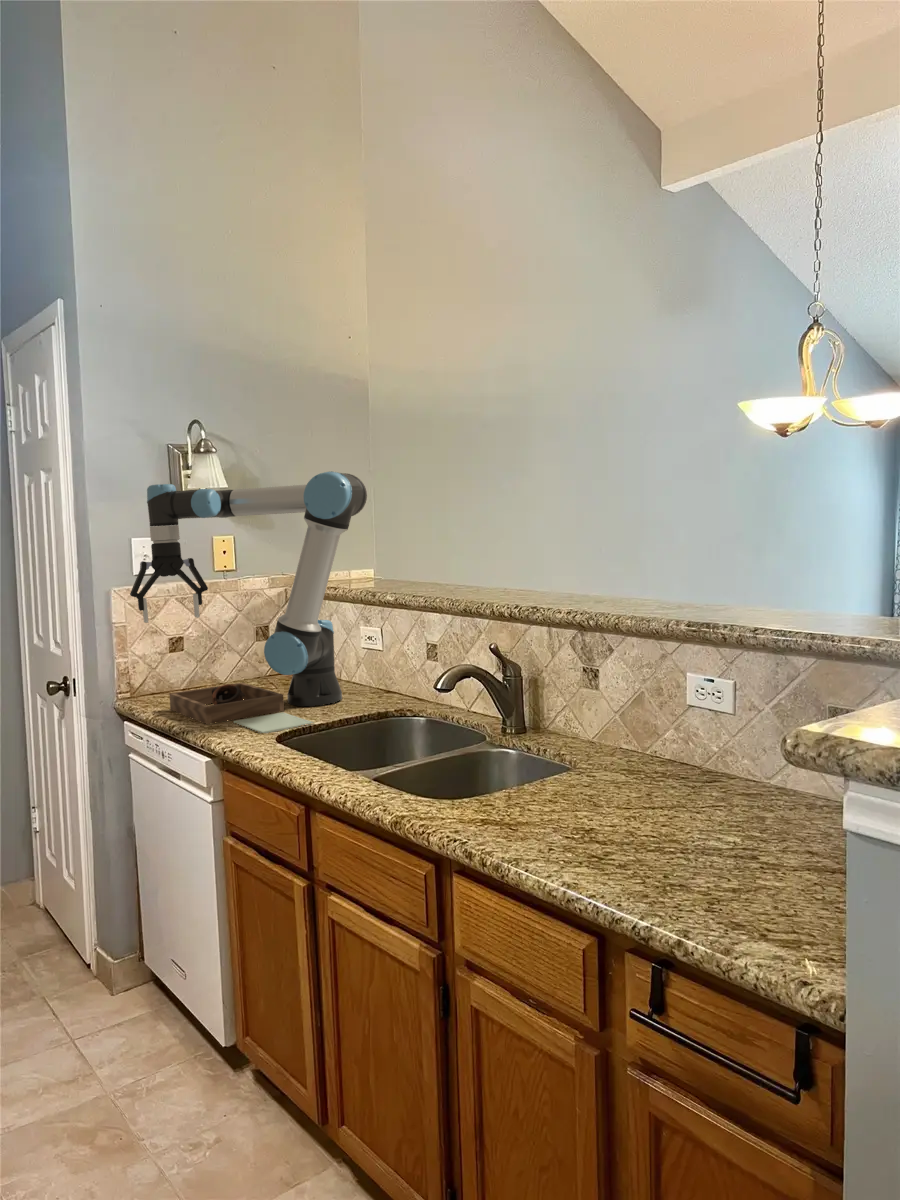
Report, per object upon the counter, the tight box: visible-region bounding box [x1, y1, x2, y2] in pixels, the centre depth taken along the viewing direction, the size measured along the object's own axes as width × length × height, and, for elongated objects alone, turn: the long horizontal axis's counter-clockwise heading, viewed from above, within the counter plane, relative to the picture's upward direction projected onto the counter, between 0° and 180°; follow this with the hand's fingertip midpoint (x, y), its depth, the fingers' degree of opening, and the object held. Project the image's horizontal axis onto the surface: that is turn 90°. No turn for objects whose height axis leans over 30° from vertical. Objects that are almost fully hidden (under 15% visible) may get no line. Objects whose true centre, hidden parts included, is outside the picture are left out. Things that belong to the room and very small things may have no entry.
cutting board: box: [233, 711, 315, 734], centre depth 226 cm, size 16×14×1 cm
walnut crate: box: [169, 682, 285, 725], centre depth 242 cm, size 24×22×4 cm
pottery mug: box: [212, 683, 245, 705], centre depth 242 cm, size 12×10×8 cm
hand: (172, 619), depth 245 cm, fingers open, 13 cm apart
